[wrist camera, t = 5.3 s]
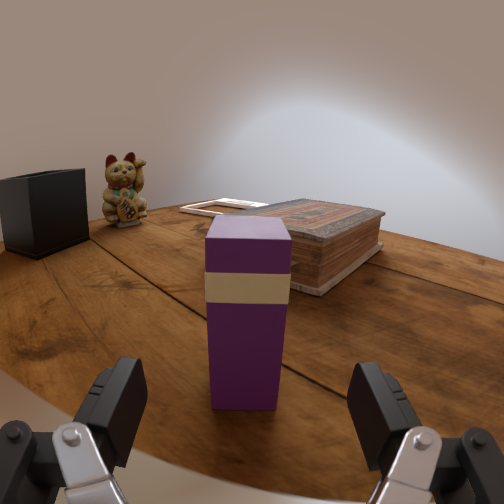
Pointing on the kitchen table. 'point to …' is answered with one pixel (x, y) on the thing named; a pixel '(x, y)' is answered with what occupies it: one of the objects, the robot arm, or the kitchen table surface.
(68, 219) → the waste bin
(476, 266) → the kitchen table surface
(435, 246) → the kitchen table surface
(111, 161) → the decorative figurine
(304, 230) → the book
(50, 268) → the kitchen table surface
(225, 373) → the chocolate bar
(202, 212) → the photo frame
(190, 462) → the kitchen table surface
